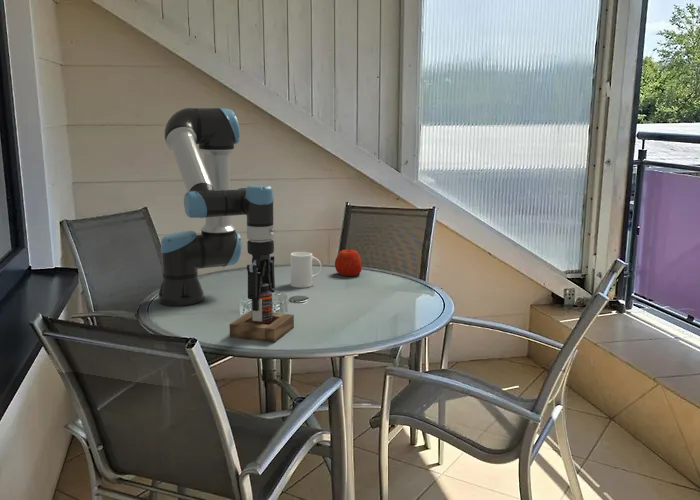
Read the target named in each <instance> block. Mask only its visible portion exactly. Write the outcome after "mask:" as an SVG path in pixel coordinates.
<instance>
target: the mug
mask: <svg viewBox="0 0 700 500" xmlns="http://www.w3.org/2000/svg"><path fill="white" fill-rule="evenodd" d="M313 261H316V262H318V264H319V266H320V269H319V271H318V272H317V273H316V274H315V273H314V274H313ZM322 269H323V268H322V262H321V261H320V260H319V259H318V258H317V257H315V256H314V255H313V253H312V252H308V251H295V252H291V253H290V284H289V286H291V287H292V288H297V289H299V288H300V289H303V288H305V289H307V288H311V287H312V286H314V283H313V279H314V278H317V277H318V276H319V275H320V274H321V272H322Z"/></svg>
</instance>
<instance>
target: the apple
mask: <svg viewBox="0 0 700 500" xmlns="http://www.w3.org/2000/svg"><path fill="white" fill-rule="evenodd" d="M362 265H363V263H362V258H361V255H360V254H359V252H358V251H357V250H354V249H349V248H348V249H341V250H340V251H339V252H338V253H337V256H336V258H335V260H334V267H335V270H336V272H337V274H339V275H341V276H346V277H354V276H359V275H360V274H361V272H362V268H363V267H362ZM358 274H359V275H358Z"/></svg>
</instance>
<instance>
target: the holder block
mask: <svg viewBox="0 0 700 500" xmlns="http://www.w3.org/2000/svg"><path fill="white" fill-rule="evenodd" d="M294 328H295V315H294V314H289V313H279V312H278V313H277V312H272V321H271V322H270V323H268V324H257V323H254V322H253V321H252V309H251V310H249V311H248V312H246V313H245V314H244V315H242V316H240V317H238V318H237V319H235V320H234V321H232V322H231V323H230V322H229V338H234V339H240V340H250V341H257V342H267V343H273V344H276V343H277V342H278V341H280V340H281V338H283V337H284V336H285V335H286V334H288V333H289V332H290V331H291V330H293V329H294Z"/></svg>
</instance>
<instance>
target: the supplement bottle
mask: <svg viewBox="0 0 700 500" xmlns="http://www.w3.org/2000/svg"><path fill="white" fill-rule="evenodd" d="M260 299H262V321H261V322H260V321H253V322H254V323H257V324H268V323H270V322H271V321H272V313H273V293H272V292H271V291H270V290H269V284H267V283H262V285H261V294H260Z"/></svg>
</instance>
